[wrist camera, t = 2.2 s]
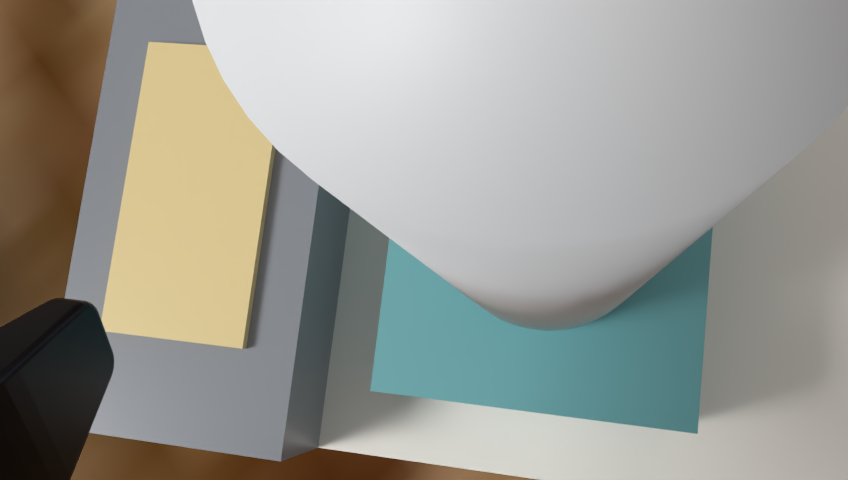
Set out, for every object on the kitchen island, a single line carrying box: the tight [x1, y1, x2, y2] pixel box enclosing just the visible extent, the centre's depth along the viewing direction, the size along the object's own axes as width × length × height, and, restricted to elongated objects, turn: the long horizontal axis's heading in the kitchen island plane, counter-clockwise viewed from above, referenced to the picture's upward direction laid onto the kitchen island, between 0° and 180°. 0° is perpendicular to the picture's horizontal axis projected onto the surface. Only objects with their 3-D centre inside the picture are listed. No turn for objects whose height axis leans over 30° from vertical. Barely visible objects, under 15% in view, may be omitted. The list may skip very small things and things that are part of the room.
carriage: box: [192, 0, 848, 434], centre depth 11 cm, size 6×7×13 cm
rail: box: [65, 0, 848, 480], centre depth 16 cm, size 30×10×4 cm, turn 83°
